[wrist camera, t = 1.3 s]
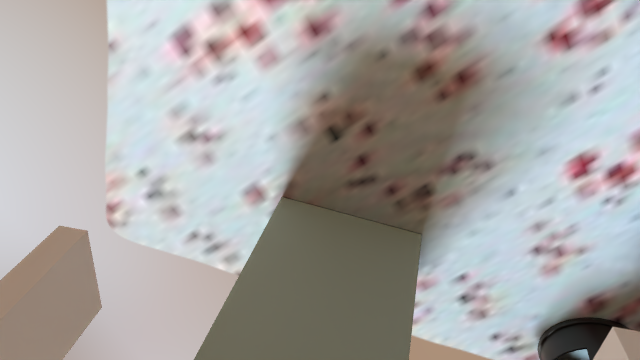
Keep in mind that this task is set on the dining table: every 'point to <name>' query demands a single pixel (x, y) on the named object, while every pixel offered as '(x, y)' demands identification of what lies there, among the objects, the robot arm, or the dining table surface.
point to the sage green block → (320, 291)
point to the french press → (575, 337)
